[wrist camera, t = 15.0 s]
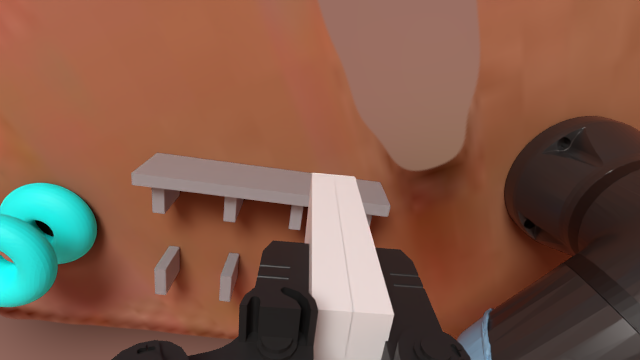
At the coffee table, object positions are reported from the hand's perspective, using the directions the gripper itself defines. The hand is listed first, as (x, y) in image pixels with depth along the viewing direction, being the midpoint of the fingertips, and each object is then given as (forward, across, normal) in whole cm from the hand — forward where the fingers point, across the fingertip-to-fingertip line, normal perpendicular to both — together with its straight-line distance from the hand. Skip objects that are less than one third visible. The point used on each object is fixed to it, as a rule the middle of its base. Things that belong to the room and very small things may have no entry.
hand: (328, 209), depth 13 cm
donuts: (+27, +29, +18) cm, 43 cm away
